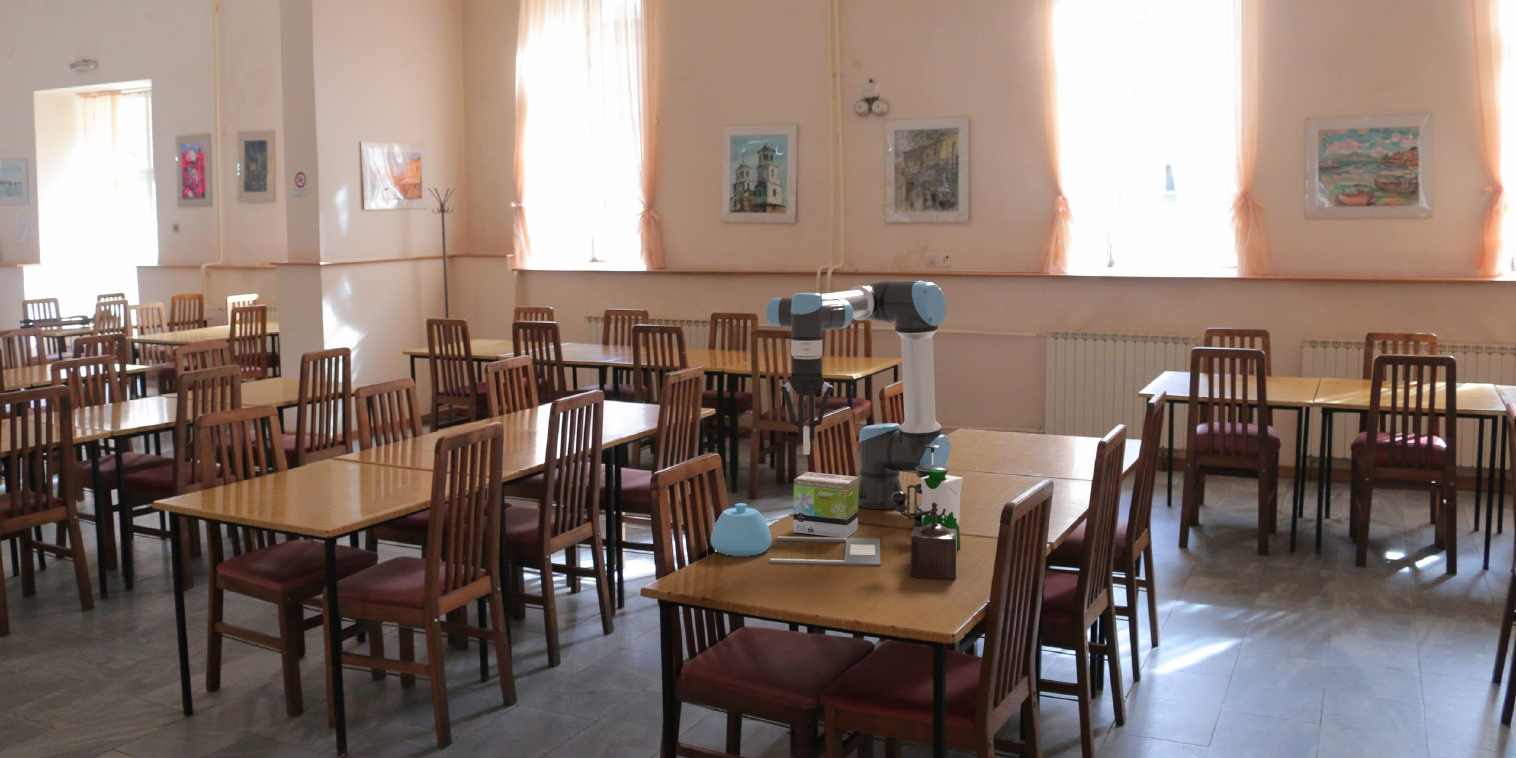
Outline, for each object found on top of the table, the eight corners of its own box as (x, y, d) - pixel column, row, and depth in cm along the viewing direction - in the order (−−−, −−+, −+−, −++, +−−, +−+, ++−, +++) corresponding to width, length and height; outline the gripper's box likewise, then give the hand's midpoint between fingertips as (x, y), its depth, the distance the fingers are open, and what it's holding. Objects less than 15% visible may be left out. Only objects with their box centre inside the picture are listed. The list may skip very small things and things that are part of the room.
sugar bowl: (743, 538, 298) (742, 494, 296) (784, 550, 287) (784, 504, 286) (698, 549, 288) (697, 503, 286) (739, 561, 277) (738, 514, 275)
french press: (955, 528, 307) (957, 443, 304) (947, 537, 298) (949, 449, 295) (912, 524, 311) (913, 440, 308) (902, 533, 302) (904, 446, 299)
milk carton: (915, 549, 287) (916, 469, 285) (936, 542, 294) (937, 464, 291) (945, 555, 281) (946, 474, 279) (966, 548, 288) (967, 469, 285)
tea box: (792, 533, 302) (792, 478, 300) (805, 524, 312) (805, 470, 310) (847, 539, 297) (847, 482, 295) (859, 530, 306) (859, 475, 304)
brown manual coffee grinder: (957, 566, 272) (958, 491, 270) (956, 580, 261) (957, 502, 259) (890, 563, 275) (891, 488, 273) (887, 576, 264) (888, 499, 262)
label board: (777, 538, 298) (777, 535, 298) (879, 540, 295) (879, 537, 295) (769, 563, 275) (769, 560, 275) (880, 566, 273) (880, 563, 273)
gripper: (778, 358, 277) (778, 456, 280) (833, 359, 275) (832, 456, 278) (781, 355, 284) (781, 450, 287) (834, 355, 283) (833, 451, 286)
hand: (806, 453), depth 283 cm, fingers closed
